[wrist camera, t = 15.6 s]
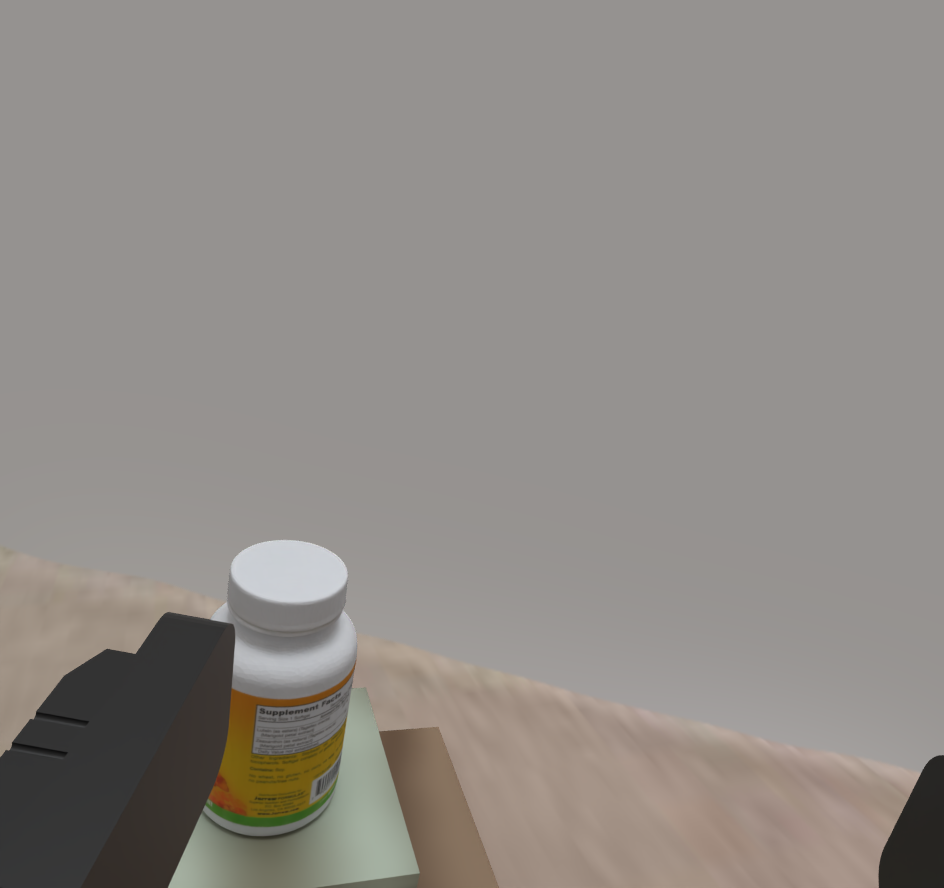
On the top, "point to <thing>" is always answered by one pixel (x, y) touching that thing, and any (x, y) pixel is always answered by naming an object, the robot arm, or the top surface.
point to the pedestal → (359, 824)
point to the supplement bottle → (284, 687)
